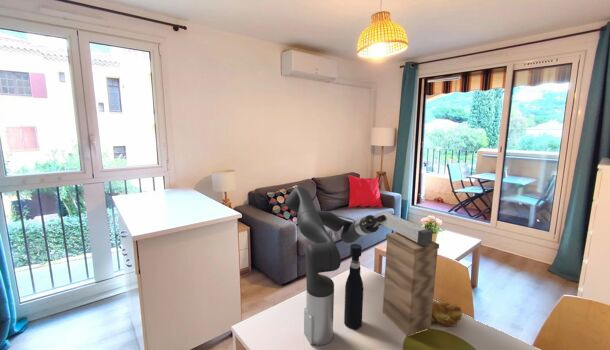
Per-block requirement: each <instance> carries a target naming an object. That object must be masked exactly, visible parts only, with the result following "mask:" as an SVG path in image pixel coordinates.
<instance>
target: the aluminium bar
mask: <svg viewBox="0 0 610 350" xmlns="http://www.w3.org/2000/svg"><path fill="white" fill-rule="evenodd" d="M392 214H393V213H390V212H387V211H381V212H377V217H379V216H381V215H385V219H386V220H385V221H382V222H380V224H382V226H384V227H386V228H388V229H390V230H392V231H394V232H395V233H397V232H398V233H400V234H401V235H403V236H405V237H407V238H409V239H411V240H413V241H415V242H417V243H419V244H421V245H425V244H430V243H432V241H433V234H434V233H433V232H434V231H433V230H431V229H428V228H424V227H422V226H420V225H417V224H416V223H413V222H411V221H409V220H406V219H405V218H404V219H403V218H401V217H399V216H397V215H395V214H394V215H392Z"/></svg>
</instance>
